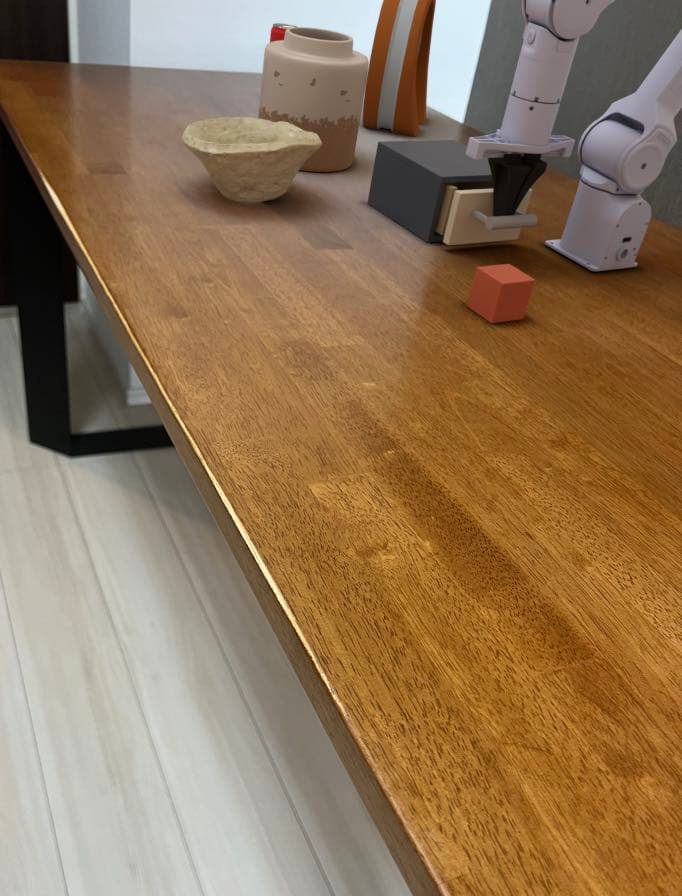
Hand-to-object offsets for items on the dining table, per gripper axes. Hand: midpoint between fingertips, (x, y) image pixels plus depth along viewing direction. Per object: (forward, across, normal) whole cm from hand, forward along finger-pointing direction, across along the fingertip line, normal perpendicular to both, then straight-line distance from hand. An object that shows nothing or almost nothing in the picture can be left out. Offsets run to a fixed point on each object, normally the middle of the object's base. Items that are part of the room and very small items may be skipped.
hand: (501, 218), depth 105 cm
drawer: (+4, 0, -6) cm, 7 cm away
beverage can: (+5, -8, -75) cm, 75 cm away
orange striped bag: (+5, -24, -59) cm, 64 cm away
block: (+5, +11, +14) cm, 19 cm away
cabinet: (+5, 0, -13) cm, 13 cm away
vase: (+5, +5, -41) cm, 41 cm away
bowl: (+5, +22, -26) cm, 34 cm away
